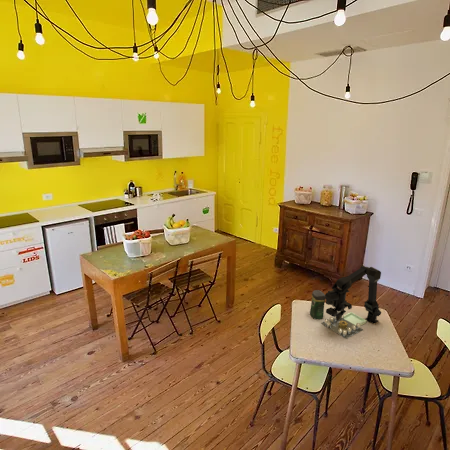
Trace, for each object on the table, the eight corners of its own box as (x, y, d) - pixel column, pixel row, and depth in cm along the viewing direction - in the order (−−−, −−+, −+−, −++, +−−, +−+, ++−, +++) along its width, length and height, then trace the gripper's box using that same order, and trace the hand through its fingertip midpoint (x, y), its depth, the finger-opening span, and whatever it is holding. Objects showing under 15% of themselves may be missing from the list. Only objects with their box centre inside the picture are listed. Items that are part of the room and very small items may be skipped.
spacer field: (337, 316, 234) (338, 310, 233) (363, 330, 219) (364, 325, 218) (320, 324, 224) (321, 318, 223) (345, 340, 209) (346, 334, 208)
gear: (341, 322, 226) (342, 319, 225) (349, 326, 221) (349, 323, 221) (336, 325, 223) (337, 322, 222) (343, 329, 218) (344, 326, 218)
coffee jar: (324, 319, 230) (327, 295, 224) (313, 320, 228) (316, 296, 223) (318, 312, 239) (321, 288, 233) (308, 312, 238) (310, 289, 232)
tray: (350, 315, 236) (351, 312, 235) (366, 323, 227) (366, 320, 226) (342, 318, 231) (343, 315, 231) (358, 327, 222) (358, 324, 221)
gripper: (339, 289, 223) (336, 310, 228) (320, 297, 213) (317, 318, 217) (353, 296, 214) (350, 318, 219) (334, 304, 204) (331, 327, 209)
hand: (337, 320), depth 216 cm, fingers closed
